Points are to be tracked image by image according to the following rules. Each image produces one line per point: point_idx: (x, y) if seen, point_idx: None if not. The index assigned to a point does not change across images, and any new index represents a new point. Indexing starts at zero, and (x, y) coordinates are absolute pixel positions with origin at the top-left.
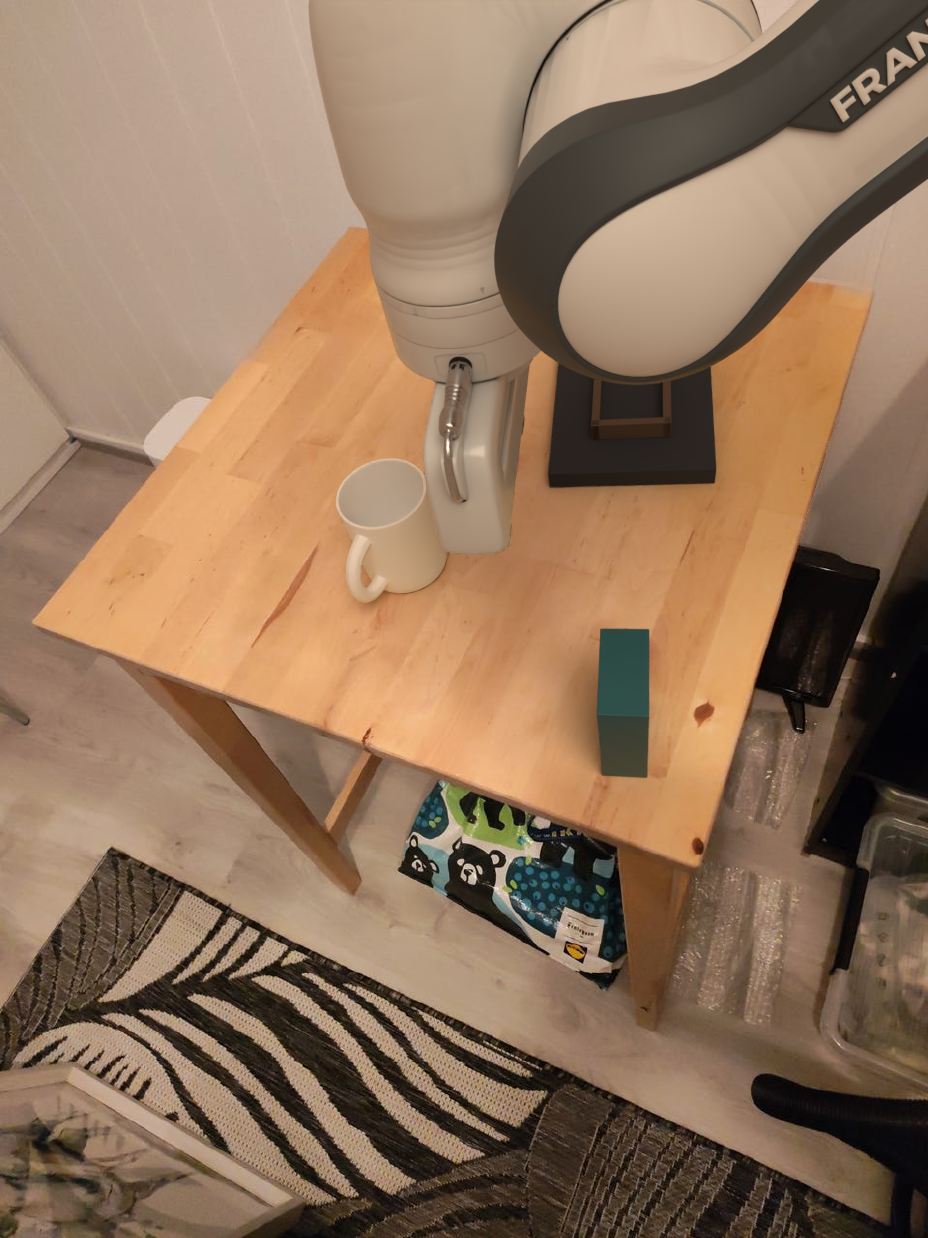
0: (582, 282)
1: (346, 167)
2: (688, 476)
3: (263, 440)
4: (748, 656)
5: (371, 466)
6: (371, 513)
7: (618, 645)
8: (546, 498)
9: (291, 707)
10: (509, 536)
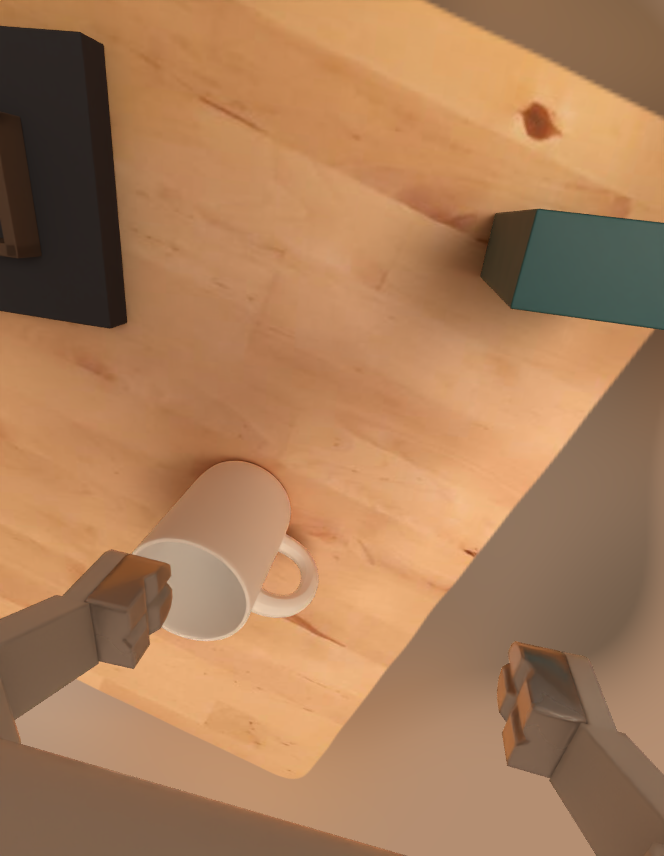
0: None
1: None
2: (96, 92)
3: None
4: (451, 23)
5: None
6: (192, 559)
7: (561, 277)
8: (145, 328)
9: (423, 617)
10: (588, 681)
